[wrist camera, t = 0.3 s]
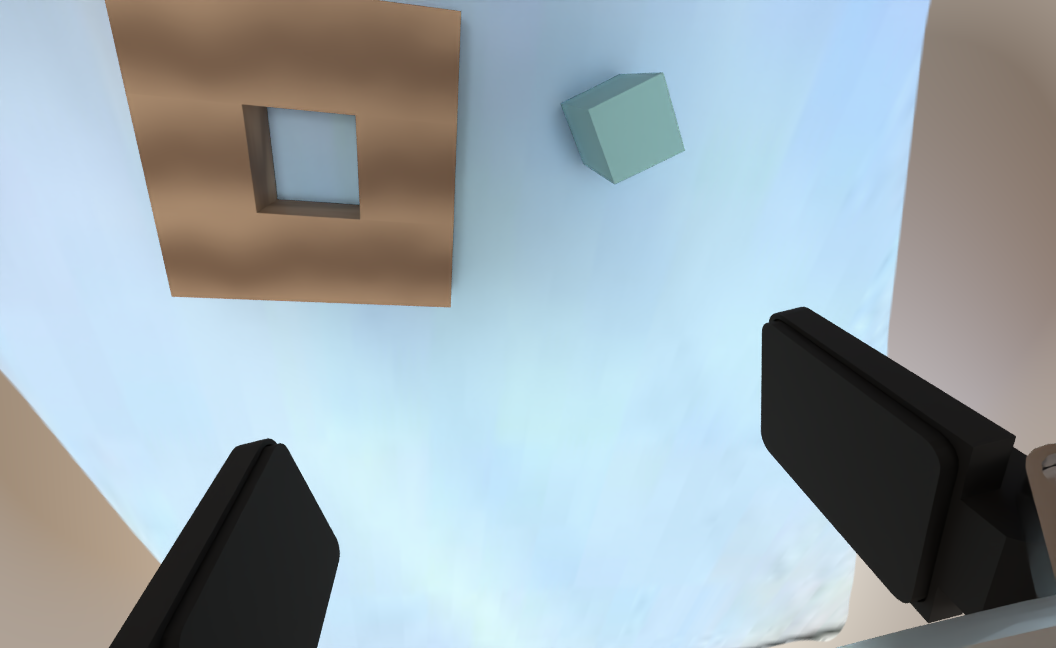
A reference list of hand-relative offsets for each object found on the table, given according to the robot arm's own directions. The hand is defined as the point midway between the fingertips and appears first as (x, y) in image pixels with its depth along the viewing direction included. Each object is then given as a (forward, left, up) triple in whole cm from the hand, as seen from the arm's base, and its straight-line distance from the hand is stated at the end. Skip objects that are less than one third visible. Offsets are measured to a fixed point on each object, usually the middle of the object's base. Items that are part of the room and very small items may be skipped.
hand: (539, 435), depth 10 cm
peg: (-5, +8, -29) cm, 30 cm away
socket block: (-1, -11, -29) cm, 31 cm away
